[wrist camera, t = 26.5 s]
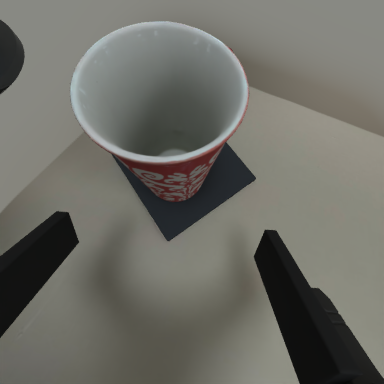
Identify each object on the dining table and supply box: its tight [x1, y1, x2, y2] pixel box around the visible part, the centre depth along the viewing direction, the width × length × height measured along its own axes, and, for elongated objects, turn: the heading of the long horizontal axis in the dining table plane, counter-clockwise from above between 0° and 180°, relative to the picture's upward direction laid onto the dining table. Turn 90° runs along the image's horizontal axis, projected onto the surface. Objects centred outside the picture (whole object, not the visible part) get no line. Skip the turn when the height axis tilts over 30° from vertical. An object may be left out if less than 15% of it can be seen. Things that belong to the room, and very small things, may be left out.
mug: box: [70, 21, 249, 202], centre depth 15 cm, size 13×9×14 cm
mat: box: [112, 142, 256, 241], centre depth 22 cm, size 14×14×1 cm
